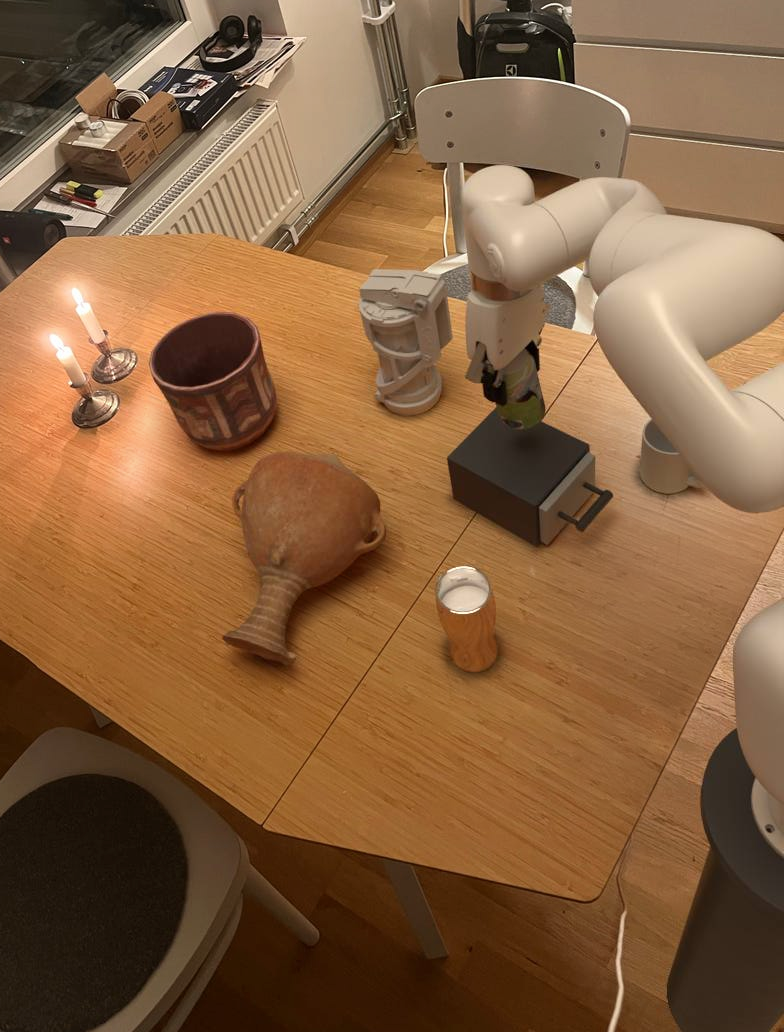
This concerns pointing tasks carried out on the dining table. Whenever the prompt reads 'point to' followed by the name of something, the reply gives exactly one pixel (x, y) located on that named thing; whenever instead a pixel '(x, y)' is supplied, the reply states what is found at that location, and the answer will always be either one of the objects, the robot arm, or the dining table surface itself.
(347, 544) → the jug
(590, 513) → the drawer
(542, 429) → the cabinet
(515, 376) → the beverage can
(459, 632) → the beer glass
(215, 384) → the pottery
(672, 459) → the cup
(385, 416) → the dining table surface
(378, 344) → the lantern
